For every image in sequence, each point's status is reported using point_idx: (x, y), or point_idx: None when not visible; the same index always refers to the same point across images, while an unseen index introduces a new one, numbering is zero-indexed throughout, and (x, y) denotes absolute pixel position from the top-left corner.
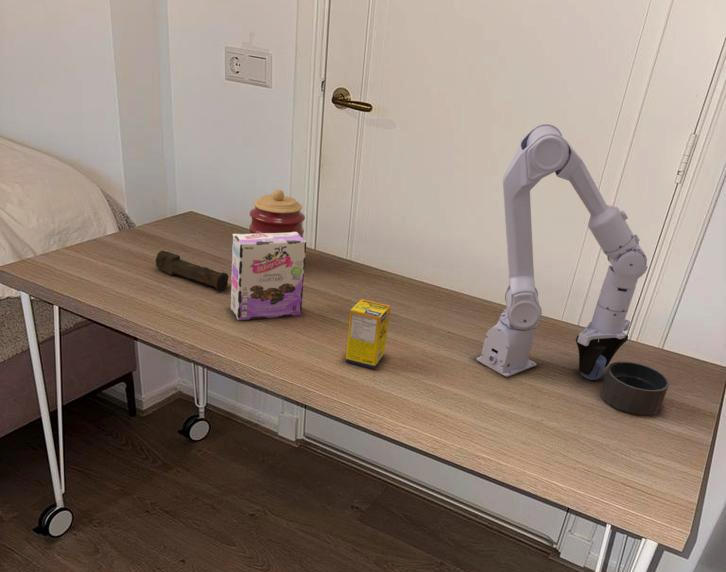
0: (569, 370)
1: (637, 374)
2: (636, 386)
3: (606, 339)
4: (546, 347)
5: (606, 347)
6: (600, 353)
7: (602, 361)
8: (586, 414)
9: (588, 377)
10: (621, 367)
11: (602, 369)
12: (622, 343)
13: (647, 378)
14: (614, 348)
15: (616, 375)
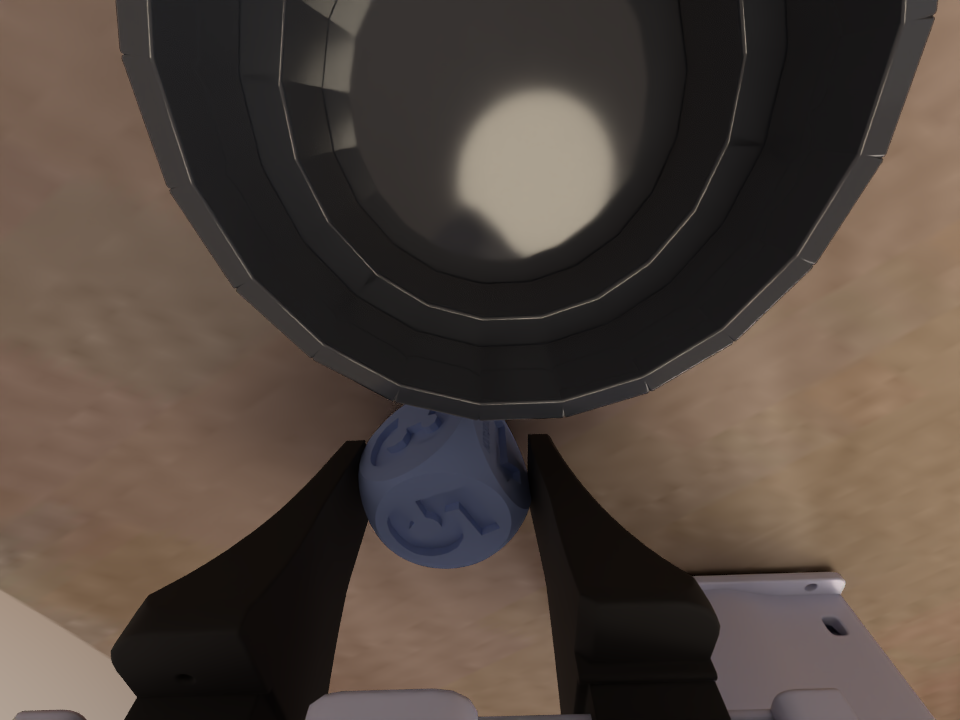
0: None
1: (295, 240)
2: (338, 183)
3: (312, 651)
4: (427, 636)
5: (327, 575)
6: (582, 551)
7: (451, 479)
8: (940, 163)
9: (505, 423)
10: (417, 359)
11: (472, 425)
12: (218, 577)
13: (246, 140)
14: (305, 549)
15: (467, 327)
